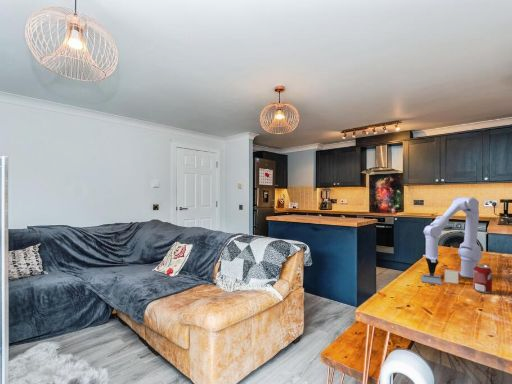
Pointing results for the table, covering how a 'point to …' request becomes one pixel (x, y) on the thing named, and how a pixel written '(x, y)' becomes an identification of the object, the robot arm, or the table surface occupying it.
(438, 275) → the grey bar
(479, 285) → the soda can
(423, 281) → the mat
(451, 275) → the tile
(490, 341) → the table surface
